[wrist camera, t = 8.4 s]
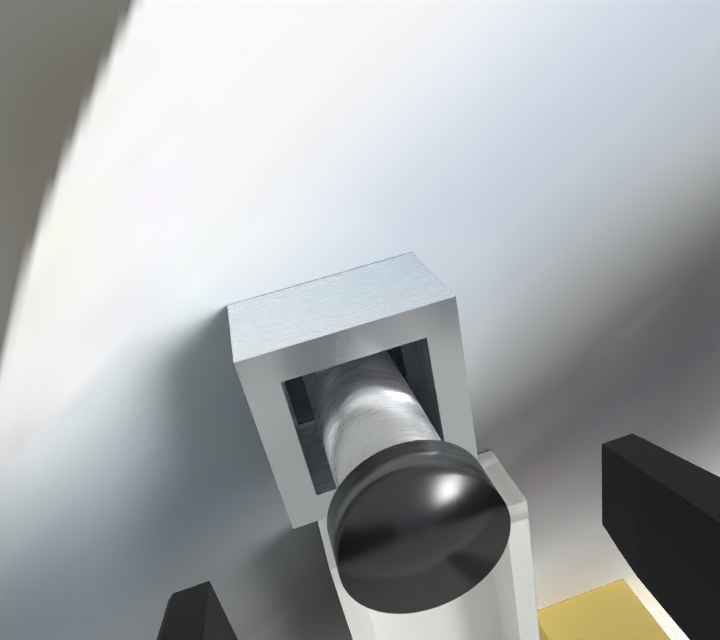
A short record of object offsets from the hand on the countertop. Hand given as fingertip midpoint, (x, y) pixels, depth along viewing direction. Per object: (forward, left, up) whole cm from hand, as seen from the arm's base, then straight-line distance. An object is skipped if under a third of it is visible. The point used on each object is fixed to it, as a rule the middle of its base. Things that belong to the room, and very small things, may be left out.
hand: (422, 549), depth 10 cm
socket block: (0, 0, -7) cm, 7 cm away
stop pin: (0, 0, -7) cm, 7 cm away
